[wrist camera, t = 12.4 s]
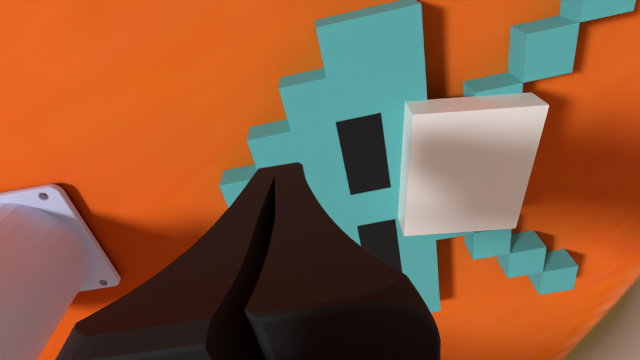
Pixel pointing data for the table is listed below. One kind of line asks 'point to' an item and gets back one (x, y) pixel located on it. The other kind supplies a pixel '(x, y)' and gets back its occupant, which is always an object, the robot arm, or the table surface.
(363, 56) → the alien figure
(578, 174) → the table surface
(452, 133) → the tile
